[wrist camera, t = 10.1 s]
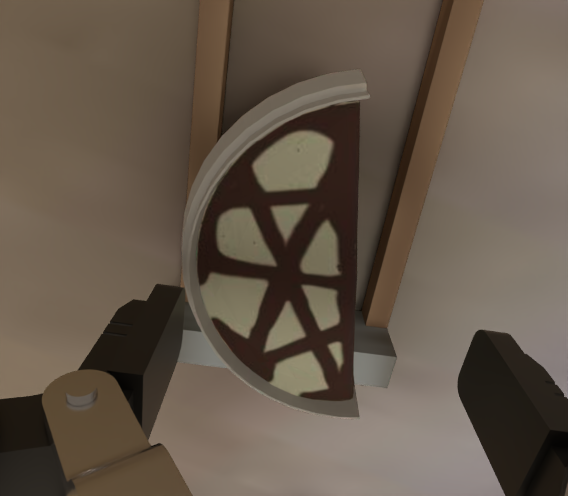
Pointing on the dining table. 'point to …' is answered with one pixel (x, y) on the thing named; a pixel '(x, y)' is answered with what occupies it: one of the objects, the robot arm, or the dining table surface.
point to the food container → (282, 245)
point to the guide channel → (407, 190)
